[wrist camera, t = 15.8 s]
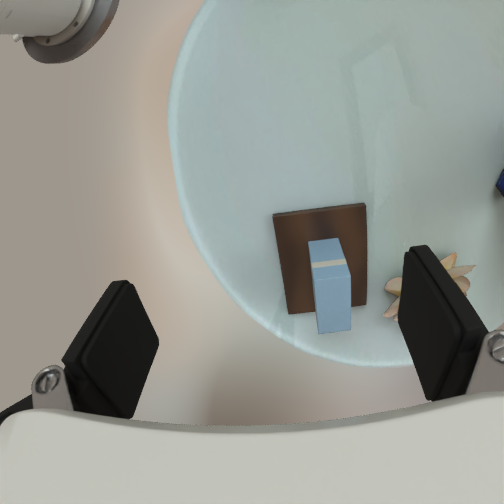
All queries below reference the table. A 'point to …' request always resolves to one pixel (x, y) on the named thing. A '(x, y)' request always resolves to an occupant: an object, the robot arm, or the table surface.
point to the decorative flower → (454, 272)
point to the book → (501, 183)
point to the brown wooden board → (312, 229)
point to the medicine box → (330, 286)
